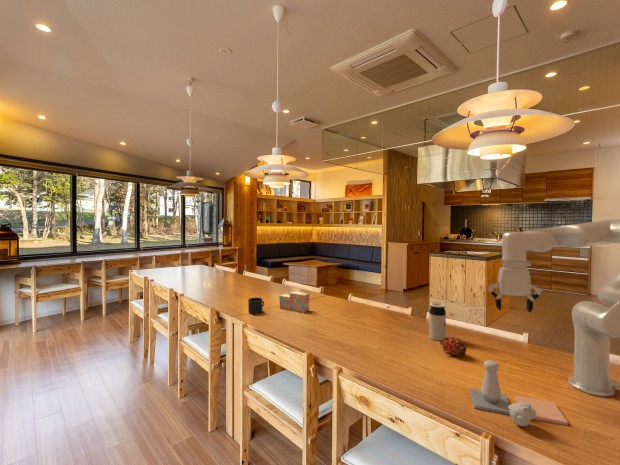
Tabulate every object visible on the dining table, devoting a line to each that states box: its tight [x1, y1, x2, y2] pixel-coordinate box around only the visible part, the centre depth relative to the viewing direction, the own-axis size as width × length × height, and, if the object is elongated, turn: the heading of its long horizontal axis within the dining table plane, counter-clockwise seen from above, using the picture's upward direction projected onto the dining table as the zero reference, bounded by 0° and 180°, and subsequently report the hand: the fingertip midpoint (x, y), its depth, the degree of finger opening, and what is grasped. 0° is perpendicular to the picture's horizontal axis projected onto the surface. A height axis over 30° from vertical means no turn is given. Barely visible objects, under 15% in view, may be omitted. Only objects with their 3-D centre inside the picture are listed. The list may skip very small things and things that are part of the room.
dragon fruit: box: [439, 336, 468, 357], centre depth 142 cm, size 8×8×12 cm
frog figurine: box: [508, 402, 536, 427], centre depth 93 cm, size 6×7×7 cm
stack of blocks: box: [279, 291, 310, 314], centre depth 217 cm, size 21×6×12 cm, turn 59°
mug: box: [247, 297, 265, 315], centre depth 212 cm, size 9×12×9 cm
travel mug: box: [428, 302, 447, 342], centre depth 161 cm, size 8×8×18 cm
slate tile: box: [469, 388, 511, 416], centre depth 104 cm, size 11×11×1 cm
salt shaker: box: [480, 359, 502, 403], centre depth 104 cm, size 6×6×13 cm
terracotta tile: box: [514, 395, 569, 426], centre depth 99 cm, size 11×11×1 cm
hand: (513, 310), depth 115 cm, fingers open, 9 cm apart
